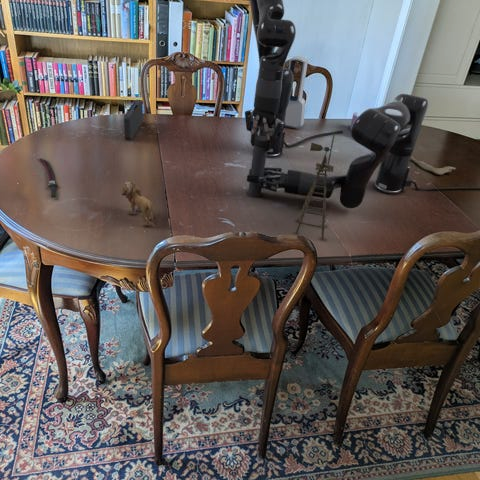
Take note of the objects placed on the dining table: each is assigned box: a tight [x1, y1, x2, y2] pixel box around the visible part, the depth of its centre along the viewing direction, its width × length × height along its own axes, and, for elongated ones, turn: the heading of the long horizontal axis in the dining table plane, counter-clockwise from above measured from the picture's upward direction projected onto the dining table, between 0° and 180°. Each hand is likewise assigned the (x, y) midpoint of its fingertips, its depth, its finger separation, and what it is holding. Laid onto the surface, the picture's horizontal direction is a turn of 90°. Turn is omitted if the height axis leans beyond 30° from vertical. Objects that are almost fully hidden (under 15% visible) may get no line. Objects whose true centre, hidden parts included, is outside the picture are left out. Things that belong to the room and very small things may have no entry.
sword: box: [40, 158, 59, 198], centre depth 151 cm, size 31×3×1 cm, turn 26°
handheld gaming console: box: [123, 99, 144, 141], centre depth 190 cm, size 23×3×10 cm, turn 178°
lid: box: [254, 134, 267, 147], centre depth 145 cm, size 5×5×2 cm
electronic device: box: [284, 55, 309, 130], centre depth 208 cm, size 12×8×30 cm, turn 71°
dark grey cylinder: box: [247, 144, 267, 198], centre depth 150 cm, size 4×4×19 cm
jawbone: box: [410, 155, 457, 176], centre depth 188 cm, size 9×20×2 cm, turn 50°
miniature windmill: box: [294, 133, 335, 240], centre depth 130 cm, size 9×8×30 cm
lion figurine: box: [119, 181, 159, 227], centre depth 134 cm, size 15×5×9 cm, turn 50°
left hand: (260, 147), depth 146 cm, fingers closed on lid, 4 cm apart
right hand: (248, 174), depth 152 cm, fingers closed on dark grey cylinder, 4 cm apart
